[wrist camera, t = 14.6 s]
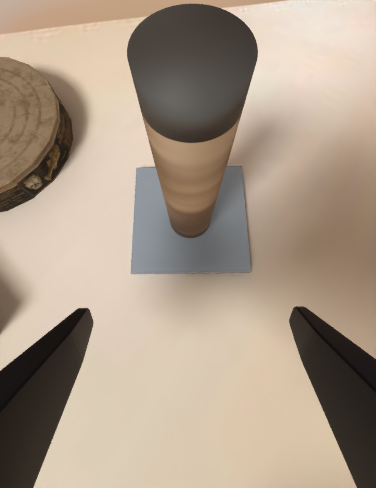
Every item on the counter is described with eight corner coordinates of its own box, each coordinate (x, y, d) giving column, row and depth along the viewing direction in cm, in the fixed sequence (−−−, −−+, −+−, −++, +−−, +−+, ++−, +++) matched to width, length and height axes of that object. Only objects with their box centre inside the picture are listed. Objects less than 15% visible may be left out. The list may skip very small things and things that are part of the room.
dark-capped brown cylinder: (217, 227, 18) (283, 71, 5) (180, 244, 18) (158, 120, 5) (199, 193, 19) (219, -11, 6) (163, 209, 19) (108, 27, 6)
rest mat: (240, 170, 20) (241, 166, 20) (249, 272, 18) (251, 271, 17) (138, 171, 20) (136, 167, 20) (132, 274, 18) (130, 273, 17)
